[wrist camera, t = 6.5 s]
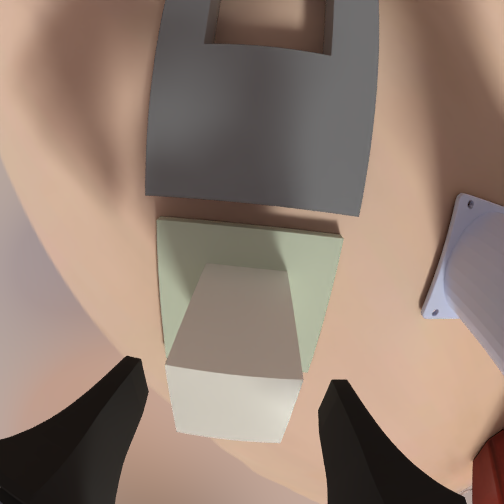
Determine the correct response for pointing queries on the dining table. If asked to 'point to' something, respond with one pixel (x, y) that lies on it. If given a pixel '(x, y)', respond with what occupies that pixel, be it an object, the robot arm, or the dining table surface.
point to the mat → (247, 255)
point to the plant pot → (489, 472)
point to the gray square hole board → (263, 112)
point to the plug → (236, 356)
